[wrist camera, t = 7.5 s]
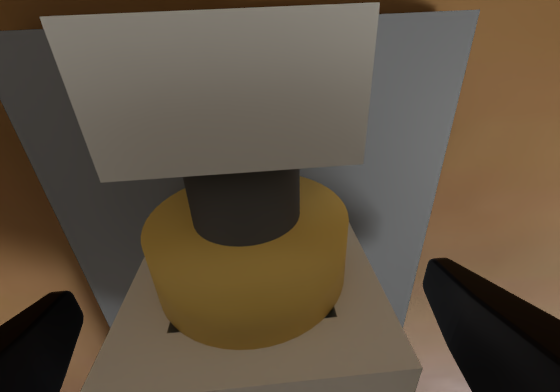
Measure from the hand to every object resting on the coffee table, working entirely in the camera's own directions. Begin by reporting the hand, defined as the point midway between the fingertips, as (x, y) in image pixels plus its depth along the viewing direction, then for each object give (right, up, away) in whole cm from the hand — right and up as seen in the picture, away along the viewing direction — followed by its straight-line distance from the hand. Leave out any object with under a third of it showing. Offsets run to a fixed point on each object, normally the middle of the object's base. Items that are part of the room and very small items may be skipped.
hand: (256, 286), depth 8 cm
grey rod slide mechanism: (0, -2, +3) cm, 4 cm away
